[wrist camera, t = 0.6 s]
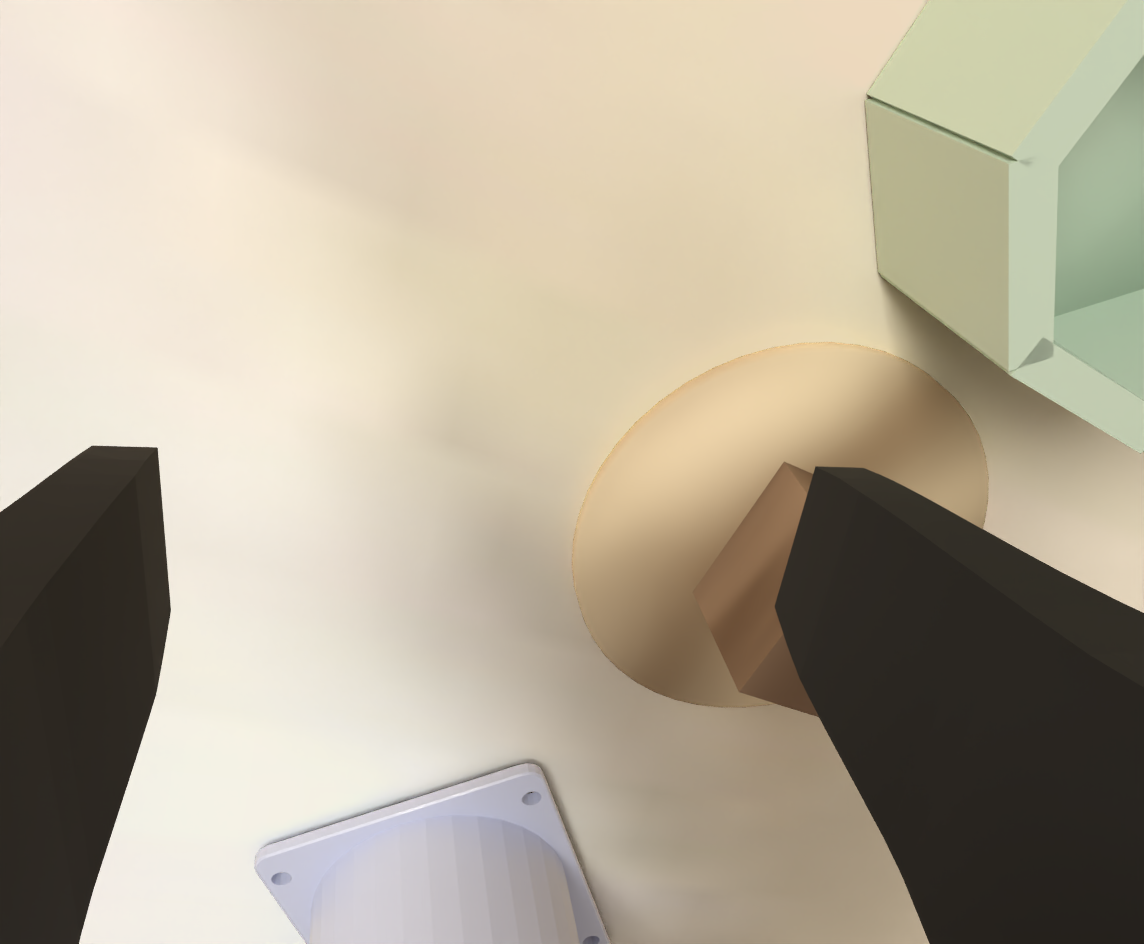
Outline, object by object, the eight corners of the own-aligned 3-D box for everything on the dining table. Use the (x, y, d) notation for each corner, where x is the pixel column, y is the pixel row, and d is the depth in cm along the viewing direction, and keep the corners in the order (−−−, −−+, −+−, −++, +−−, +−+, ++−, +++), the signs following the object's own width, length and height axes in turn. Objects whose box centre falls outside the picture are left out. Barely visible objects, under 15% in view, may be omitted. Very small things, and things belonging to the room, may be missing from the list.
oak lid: (1052, 433, 25) (1172, 529, 21) (815, 723, 28) (881, 846, 25) (718, 260, 21) (793, 342, 17) (495, 626, 24) (518, 756, 21)
